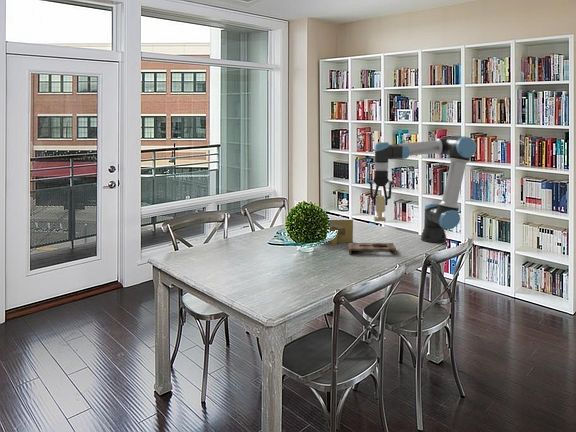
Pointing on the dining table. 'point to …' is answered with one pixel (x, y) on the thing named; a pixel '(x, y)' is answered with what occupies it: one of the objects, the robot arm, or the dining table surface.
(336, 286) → the dining table surface
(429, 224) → the robot arm
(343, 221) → the cardboard box
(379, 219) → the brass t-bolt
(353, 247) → the keyhole plate
